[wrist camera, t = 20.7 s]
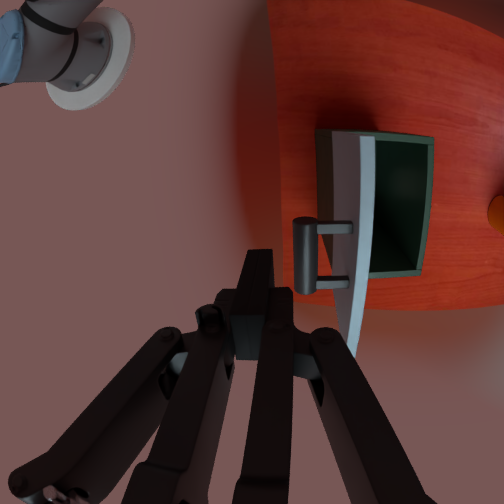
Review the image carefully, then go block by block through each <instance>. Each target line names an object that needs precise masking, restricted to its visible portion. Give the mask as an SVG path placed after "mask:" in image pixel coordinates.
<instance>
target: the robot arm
mask: <svg viewBox="0 0 504 504" xmlns="http://www.w3.org/2000/svg"><path fill="white" fill-rule="evenodd" d="M102 1H103V0H26V1H25V2H24V3H23V5H22V6H21V7H20V9H19V10H16V9H15V10H11V11H8V12H7V13H5V14H4V15H3V16H2V17H1V18H0V83H1V84H0V87H1V86H5V85H9V84H12V83H14V82H15V83H16V82H48V83H50V84H52V85H54V86H55V87H57V88H59V89H61V90H63V91H67V92H78V91H82V90H84V89H87V88H88V87H90V86H91V85H92V84H94V83H95V82H96V81H97V80H98V79H99V78H100V76H101V75H102V74H103V72H104V71H105V69H106V67H107V65H108V63H109V61H110V58H111V55H112V50H113V38H112V34H111V32H110V30H109V29H108V28H107V27H106V26H104V25H102V24H100V23H97V22H83V21H84V20H85V19H86V17H87V16H88V15H89V14H90V13H91V12H92V11H93V10H94V9H95V8H96V7H97V6H98V5H99V4H100V3H101V2H102ZM195 314H196V319H197V323H198V329H197V331H194V332H190V333H184V334H181V332H180V330H179V329H178V328H175V327H164V328H162V329H159V330H158V331H157V332H156V333H155V334H154V335H153V336H152V337H151V338H150V339H149V340H148V341H147V342H146V343H145V344H144V345H143V347H142V348H141V349H140V350H139V351H138V352H137V353H136V354H135V355H134V356H133V357H132V358H131V359H130V361H129V362H128V363H127V364H126V365H125V366H124V367H123V368H122V369H121V370H120V371H119V373H118V374H117V375H116V376H115V377H114V378H113V379H112V380H111V381H110V382H109V383H108V385H107V386H106V387H105V388H104V389H103V390H102V391H101V392H100V394H99V395H98V396H97V397H96V398H95V399H94V400H93V401H92V402H91V403H90V404H89V406H88V407H87V408H86V409H85V410H84V411H83V412H82V413H81V414H80V416H79V417H78V418H77V419H76V420H75V421H74V423H72V425H71V426H70V427H69V428H68V429H67V430H66V431H65V432H64V434H63V435H62V436H61V437H60V438H59V439H58V440H57V441H56V443H55V444H54V445H53V446H52V447H51V448H50V449H49V451H48V452H46V453H44V454H42V455H41V456H39V457H37V458H35V459H34V460H32V461H30V462H28V463H26V464H24V465H23V466H21V467H19V468H17V469H15V470H14V471H13V472H11V474H10V476H9V479H8V485H9V489H10V491H11V493H12V494H13V495H14V496H16V497H17V498H19V499H20V500H22V501H23V502H25V503H27V504H99V503H100V502H101V501H103V499H105V498H106V497H107V496H108V495H109V493H110V492H111V491H112V490H113V489H114V487H115V486H116V484H117V483H118V482H119V480H120V479H121V478H122V476H123V475H124V474H125V472H126V471H127V469H128V468H129V467H130V465H131V464H132V463H133V461H134V460H135V459H136V457H137V456H138V454H139V453H140V452H141V450H142V449H143V447H144V446H145V445H146V443H147V442H148V440H149V439H150V437H151V436H152V435H153V433H154V432H155V431H156V429H157V428H158V426H159V425H160V427H159V429H158V432H157V435H156V437H155V440H154V443H153V445H152V448H151V451H150V453H149V456H148V458H147V460H146V461H145V462H141V463H139V464H137V466H136V467H135V468H134V470H133V473H132V475H131V478H130V481H129V483H128V486H127V489H126V492H125V494H124V497H123V499H122V502H121V504H208V488H209V484H210V479H211V474H212V470H213V466H214V461H215V456H216V452H217V448H218V443H219V438H220V434H221V429H222V424H223V420H224V415H225V411H226V406H227V402H228V396H229V392H230V388H231V383H232V378H233V373H234V369H235V367H234V355H236V360H258V364H257V372H256V379H255V385H254V393H253V400H252V406H251V413H250V420H249V426H248V432H247V439H246V445H245V451H244V457H243V464H242V470H241V475H240V478H239V479H238V481H237V483H236V486H235V490H234V495H233V500H232V504H288V493H289V477H290V459H291V438H292V408H293V376H297V377H301V378H305V379H307V380H308V384H309V387H310V389H311V392H312V395H313V398H314V400H315V403H316V406H317V409H318V412H319V414H320V417H321V420H322V423H323V426H324V428H325V431H326V434H327V436H328V439H329V442H330V445H331V448H332V450H333V453H334V456H335V459H336V462H337V464H338V467H339V470H340V473H341V476H342V479H343V481H344V484H345V487H346V490H347V492H348V496H349V499H350V501H351V504H437V503H436V502H435V501H434V500H432V499H431V498H430V497H429V496H428V495H426V494H425V492H424V490H423V487H422V485H421V483H420V481H419V480H418V477H417V475H416V473H415V471H414V469H413V467H412V465H411V463H410V461H409V459H408V457H407V455H406V453H405V451H404V449H403V447H402V445H401V443H400V441H399V440H398V438H397V436H396V434H395V432H394V430H393V428H392V426H391V424H390V422H389V420H388V419H387V417H386V415H385V413H384V411H383V409H382V407H381V406H380V404H379V402H378V400H377V398H376V396H375V394H374V393H373V391H372V389H371V387H370V385H369V384H368V382H367V380H366V378H365V376H364V375H363V373H362V371H361V369H360V367H359V365H358V364H357V362H356V360H355V358H354V357H353V355H352V353H351V351H350V350H349V348H348V346H347V344H346V343H345V341H344V339H343V337H342V336H341V334H340V333H339V332H338V331H337V330H335V329H333V328H328V327H324V328H318V329H316V330H314V331H313V332H312V333H311V334H309V333H305V332H302V331H300V330H298V329H297V328H296V327H295V326H294V322H293V292H292V290H291V289H290V288H289V287H275V286H274V268H273V250H272V249H253V250H248V251H247V255H246V258H245V261H244V265H243V268H242V272H241V275H240V278H239V282H238V285H237V288H236V289H222V290H221V291H220V292H219V293H218V294H217V296H216V298H215V301H214V304H207V305H204V306H202V307H200V308H199V309H197V310H196V312H195Z"/></svg>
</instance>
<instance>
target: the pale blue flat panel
mask: <svg viewBox="0 0 504 504" xmlns="http://www.w3.org/2000/svg"><path fill="white" fill-rule="evenodd" d="M332 143H333V173H334V220H327V221H318V220H317V219H316V218H313V217H298V218H295V219H294V220H293V251H294V289H295V291H296V292H297V293H299V294H303V295H309V294H312V293H314V292H316V290H317V289H333V294H334V299H335V305H336V311H337V317H338V323H339V330H340V334H341V336H342V337H343V339H344V341H345V343H346V344H347V346H348V348H349V350H350V351H351V353H352V355H353V357H354V358H355V355H356V350H357V345H358V340H359V335H360V329H361V323H362V317H363V311H364V305H365V298H366V290H367V283H368V275H369V266H370V256H371V245H372V233H373V218H374V197H375V137H374V136H372V135H365V134H358V133H351V132H343V131H332ZM318 234H333V263H332V276H318Z"/></svg>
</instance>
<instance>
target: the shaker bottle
mask: <svg viewBox="0 0 504 504" xmlns="http://www.w3.org/2000/svg"><path fill="white" fill-rule="evenodd" d="M488 220H489V223H490V225H491V226H492V227H493V228H495V229H496V230H497V231H498V232H500V233H501V234H502V235H503V236H504V196H501V195H500V196H497V197H495V198H494V199H493V200H492V202H491V204H490V206H489V210H488Z"/></svg>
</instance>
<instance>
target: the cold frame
mask: <svg viewBox="0 0 504 504" xmlns="http://www.w3.org/2000/svg"><path fill="white" fill-rule="evenodd" d="M332 131H343V132H351V133H358V134H365V135H372V136H374V137H375V197H374V218H373V233H372V245H371V256H370V266H369V275H368V279H372V278H391V277H407V276H420V275H421V271H422V270H421V269H422V265H423V260H424V254H425V248H426V241H427V235H428V227H429V219H430V210H431V200H432V187H433V169H434V137H429V136H422V135H415V134H407V133H399V132H390V131H380V130H359V129H315V146H316V168H317V206H318V221H327V220H334V173H333V143H332ZM321 235H322V238H323V242H324V245H325V248H326V252H327V255H328V258H329V262H330V265H331V269H332V263H333V234H321Z"/></svg>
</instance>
